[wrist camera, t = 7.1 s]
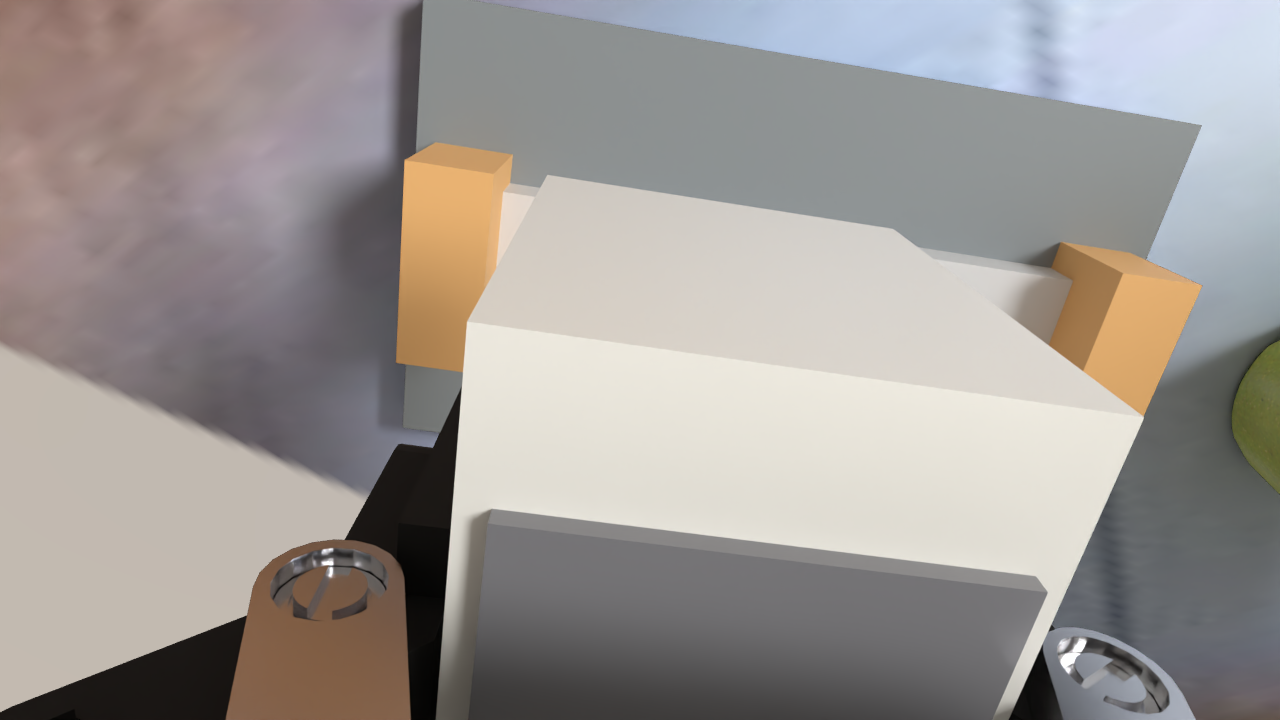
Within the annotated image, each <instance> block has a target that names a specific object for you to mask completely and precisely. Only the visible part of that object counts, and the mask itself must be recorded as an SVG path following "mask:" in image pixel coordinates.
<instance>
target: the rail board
mask: <svg viewBox="0 0 1280 720" xmlns="http://www.w3.org/2000/svg"><path fill="white" fill-rule="evenodd" d="M1201 126H1202V125H1197V124H1191V123H1185V122H1179V121H1174V120H1168V119H1162V118H1156V117H1150V116H1144V115H1139V114H1133V113H1127V112H1121V111H1115V110H1109V109H1104V108H1098V107H1092V106H1086V105H1080V104H1074V103H1069V102H1063V101H1057V100H1051V99H1045V98H1039V97H1034V96H1028V95H1022V94H1016V93H1010V92H1004V91H998V90H993V89H987V88H981V87H975V86H969V85H963V84H958V83H952V82H946V81H940V80H934V79H928V78H923V77H917V76H911V75H905V74H899V73H893V72H888V71H882V70H876V69H870V68H864V67H858V66H853V65H847V64H841V63H835V62H829V61H823V60H818V59H812V58H806V57H800V56H794V55H788V54H783V53H777V52H771V51H765V50H759V49H753V48H748V47H742V46H736V45H730V44H724V43H718V42H712V41H707V40H701V39H695V38H689V37H683V36H677V35H672V34H666V33H660V32H654V31H648V30H642V29H637V28H631V27H625V26H619V25H613V24H607V23H602V22H596V21H590V20H584V19H578V18H572V17H567V16H561V15H555V14H549V13H543V12H537V11H532V10H526V9H520V8H514V7H508V6H502V5H497V4H491V3H485V2H479V1H473V0H423V11H422V32H421V53H420V74H419V95H418V116H417V137H416V154H414V155H413V156H411V157H409V158H407V159H406V160H405V163H404V186H403V210H402V234H401V257H400V281H399V305H398V328H397V352H396V363H400V364H406V369H405V390H404V411H403V428H409V429H416V430H423V431H431V432H438V433H440V432H441V430H442V427H443V425H444V423H445V421H446V419H447V417H448V415H449V412H450V410H451V408H452V406H453V404H454V402H455V399H456V397H457V395H458V393H459V391H460V389H461V387H462V380H463V367H464V354H465V342H466V329H467V321H468V319H469V317H470V315H471V313H472V312H473V310H474V308H475V306H476V304H477V303H478V301H479V299H480V297H481V295H482V293H483V292H484V290H485V288H486V286H487V284H488V282H489V281H490V279H491V277H492V275H493V273H494V271H495V270H496V268H497V266H498V264H499V262H500V261H501V259H502V257H503V255H504V253H505V251H506V250H507V248H508V246H509V244H510V242H511V240H512V239H513V237H514V235H515V233H516V231H517V229H518V228H519V226H520V224H521V222H522V220H523V219H524V217H525V215H526V213H527V211H528V209H529V208H530V206H531V204H532V202H533V200H534V198H535V197H536V195H537V193H538V191H539V189H540V187H541V186H542V184H543V182H544V180H545V178H546V177H547V175H552V176H558V177H564V178H571V179H577V180H584V181H590V182H597V183H603V184H609V185H616V186H622V187H629V188H635V189H641V190H648V191H654V192H661V193H667V194H673V195H680V196H686V197H693V198H699V199H705V200H712V201H718V202H725V203H731V204H737V205H744V206H750V207H757V208H763V209H769V210H776V211H782V212H789V213H795V214H801V215H808V216H814V217H821V218H827V219H833V220H840V221H846V222H853V223H859V224H865V225H872V226H878V227H885V228H891V229H894V230H895V231H897V232H898V233H899V234H901V235H902V236H903V237H905V238H906V239H907V240H909V241H910V242H911V243H913V244H914V245H915V246H917V247H918V248H919V249H921V250H922V251H923V252H925V253H926V254H927V255H929V256H930V257H931V258H933V259H934V260H935V261H937V262H938V263H939V264H941V265H942V266H943V267H945V268H946V269H947V270H949V271H950V272H951V273H953V274H954V275H955V276H957V277H958V278H959V279H961V280H962V281H963V282H965V283H966V284H967V285H969V286H970V287H971V288H973V289H974V290H975V291H977V292H978V293H979V294H981V295H982V296H983V297H985V298H986V299H987V300H989V301H990V302H991V303H993V304H994V305H995V306H997V307H998V308H999V309H1001V310H1002V311H1003V312H1005V313H1006V314H1007V315H1009V316H1010V317H1011V318H1013V319H1014V320H1015V321H1017V322H1018V323H1019V324H1021V325H1022V326H1023V327H1025V328H1026V329H1027V330H1029V331H1030V332H1031V333H1033V334H1034V335H1035V336H1037V337H1038V338H1039V339H1041V340H1042V341H1043V342H1045V343H1046V344H1047V345H1049V346H1050V347H1051V348H1053V349H1054V350H1055V351H1057V352H1058V353H1059V354H1061V355H1062V356H1063V357H1065V358H1066V359H1067V360H1069V361H1070V362H1071V363H1073V364H1074V365H1075V366H1077V367H1078V368H1079V369H1081V370H1082V371H1083V372H1085V373H1086V374H1087V375H1089V376H1090V377H1091V378H1093V379H1094V380H1095V381H1097V382H1098V383H1099V384H1101V385H1102V386H1103V387H1105V388H1106V389H1107V390H1109V391H1110V392H1111V393H1113V394H1114V395H1115V396H1117V397H1118V398H1119V399H1121V400H1122V401H1123V402H1125V403H1126V404H1127V405H1129V406H1130V407H1131V408H1133V409H1134V410H1135V411H1137V412H1138V413H1139V414H1141V415H1142V416H1144V414H1145V412H1146V410H1147V407H1148V405H1149V403H1150V401H1151V398H1152V396H1153V394H1154V392H1155V390H1156V387H1157V385H1158V383H1159V381H1160V379H1161V376H1162V374H1163V372H1164V370H1165V367H1166V365H1167V363H1168V361H1169V359H1170V356H1171V354H1172V352H1173V350H1174V348H1175V345H1176V343H1177V341H1178V339H1179V336H1180V334H1181V332H1182V330H1183V328H1184V325H1185V323H1186V321H1187V319H1188V316H1189V314H1190V312H1191V310H1192V308H1193V305H1194V303H1195V301H1196V299H1197V297H1198V294H1199V292H1200V290H1201V288H1202V285H1200V284H1198V283H1196V282H1193V281H1191V280H1189V279H1187V278H1185V277H1182V276H1180V275H1178V274H1176V273H1174V272H1171V271H1169V270H1167V269H1165V268H1162V267H1160V266H1158V265H1156V264H1154V263H1151V262H1149V261H1147V260H1146V258H1147V256H1148V253H1149V251H1150V248H1151V246H1152V244H1153V241H1154V239H1155V236H1156V234H1157V232H1158V229H1159V227H1160V225H1161V222H1162V220H1163V217H1164V215H1165V213H1166V210H1167V208H1168V205H1169V203H1170V201H1171V198H1172V196H1173V193H1174V191H1175V189H1176V186H1177V184H1178V181H1179V179H1180V177H1181V174H1182V172H1183V169H1184V167H1185V165H1186V162H1187V160H1188V157H1189V155H1190V153H1191V150H1192V148H1193V145H1194V143H1195V141H1196V138H1197V136H1198V133H1199V131H1200V129H1201Z"/></svg>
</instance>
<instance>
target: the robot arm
mask: <svg viewBox="0 0 1280 720" xmlns="http://www.w3.org/2000/svg"><path fill="white" fill-rule="evenodd" d="M461 392H462V387H461V389H460V391H459V393H458V395H457V397H456V399H455V402H454V404H453V406H452V408H451V410H450V412H449V415H448V417H447V419H446V421H445V423H444V425H443V427H442V430H441V432H440V434H439V436H438V438H437V440H436V443H435V445H434V447H433V448H429V447H422V446H414V445H406V444H398V446H397V447H396V448H395V450H394V452H393V453H392V455H391V457H390V459H389V461H388V462H387V464H386V466H385V468H384V470H383V471H382V473H381V475H380V477H379V479H378V481H377V482H376V484H375V486H374V488H373V490H372V491H371V493H370V495H369V497H368V499H367V500H366V502H365V504H364V506H363V508H362V509H361V511H360V513H359V515H358V517H357V518H356V520H355V522H354V524H353V526H352V527H351V529H350V531H349V533H348V535H347V537H346V538H345V540H327V541H320V542H312V543H309V544H306V545H303V546H300V547H297V548H293V549H291V550H289V551H287V552H285V553H284V554H282V555H280V556H278V557H277V558H275V559H273V560H272V561H271V562H270V563H269V564H268V565H267V566H266V567H265V568H264V569H263V570H262V571H261V572H260V573H259V575H258V577H257V579H256V582H255V584H254V586H253V590H252V595H251V600H250V604H249V609H248V614H247V616H244V617H242V618H239V619H237V620H234V621H231V622H229V623H226V624H224V625H221V626H219V627H216V628H213V629H211V630H208V631H206V632H203V633H201V634H198V635H196V636H193V637H190V638H188V639H185V640H183V641H180V642H177V643H175V644H172V645H170V646H167V647H165V648H162V649H159V650H157V651H154V652H152V653H149V654H146V655H144V656H141V657H139V658H136V659H133V660H131V661H128V662H126V663H123V664H121V665H118V666H115V667H113V668H111V669H108V670H105V671H103V672H100V673H97V674H95V675H92V676H90V677H87V678H85V679H82V680H79V681H77V682H74V683H72V684H69V685H66V686H64V687H61V688H59V689H56V690H53V691H51V692H48V693H46V694H43V695H41V696H38V697H35V698H33V699H30V700H28V701H25V702H23V703H20V704H17V705H15V706H12V707H10V708H8V709H6V710H4V711H2V712H0V720H436V710H437V697H438V684H439V672H440V659H441V646H442V634H443V621H444V608H445V596H446V583H447V570H448V557H449V545H450V532H451V519H452V507H453V494H454V481H455V469H456V456H457V443H458V430H459V418H460V405H461ZM1009 720H1196V719H1195V717H1194V715H1193V713H1192V711H1191V709H1190V707H1189V705H1188V703H1187V701H1186V699H1185V698H1184V696H1183V694H1182V692H1181V691H1180V689H1179V688H1178V686H1177V685H1176V684H1175V682H1174V681H1173V679H1172V678H1171V677H1170V676H1169V675H1168V674H1167V673H1166V672H1165V671H1164V670H1163V669H1162V668H1161V667H1159V666H1158V665H1157V664H1156V663H1155V662H1154V661H1152V660H1151V659H1149V658H1148V657H1147V656H1145V655H1144V654H1142V653H1141V652H1139V651H1138V650H1137V649H1135V648H1133V647H1131V646H1129V645H1127V644H1125V643H1123V642H1121V641H1119V640H1118V639H1116V638H1113V637H1110V636H1108V635H1105V634H1102V633H1099V632H1097V631H1093V630H1088V629H1083V628H1078V627H1060V628H1057V629H1054V627H1053V626H1052V624H1051V626H1050V629H1049V631H1048V633H1047V635H1046V637H1045V640H1044V642H1043V644H1042V646H1041V649H1040V651H1039V653H1038V655H1037V657H1036V660H1035V662H1034V664H1033V666H1032V669H1031V671H1030V673H1029V675H1028V677H1027V680H1026V682H1025V684H1024V686H1023V689H1022V691H1021V693H1020V695H1019V698H1018V700H1017V702H1016V704H1015V706H1014V709H1013V711H1012V713H1011V715H1010V718H1009Z"/></svg>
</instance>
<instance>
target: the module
mask: <svg viewBox="0 0 1280 720" xmlns="http://www.w3.org/2000/svg"><path fill="white" fill-rule="evenodd" d="M1143 419H1144V417H1143V416H1142V415H1141V414H1139V413H1138V412H1137V411H1135V410H1134V409H1133V408H1131V407H1130V406H1129V405H1127V404H1126V403H1125V402H1123V401H1122V400H1121V399H1119V398H1118V397H1117V396H1115V395H1114V394H1113V393H1111V392H1110V391H1109V390H1107V389H1106V388H1105V387H1103V386H1102V385H1101V384H1099V383H1098V382H1097V381H1095V380H1094V379H1093V378H1091V377H1090V376H1089V375H1087V374H1086V373H1085V372H1083V371H1082V370H1081V369H1079V368H1078V367H1077V366H1075V365H1074V364H1073V363H1071V362H1070V361H1069V360H1067V359H1066V358H1065V357H1063V356H1062V355H1061V354H1059V353H1058V352H1057V351H1055V350H1054V349H1053V348H1051V347H1050V346H1049V345H1047V344H1046V343H1045V342H1043V341H1042V340H1041V339H1039V338H1038V337H1037V336H1035V335H1034V334H1033V333H1031V332H1030V331H1029V330H1027V329H1026V328H1025V327H1023V326H1022V325H1021V324H1019V323H1018V322H1017V321H1015V320H1014V319H1013V318H1011V317H1010V316H1009V315H1007V314H1006V313H1005V312H1003V311H1002V310H1001V309H999V308H998V307H997V306H995V305H994V304H993V303H991V302H990V301H989V300H987V299H986V298H985V297H983V296H982V295H981V294H979V293H978V292H977V291H975V290H974V289H973V288H971V287H970V286H969V285H967V284H966V283H965V282H963V281H962V280H961V279H959V278H958V277H957V276H955V275H954V274H953V273H951V272H950V271H949V270H947V269H946V268H945V267H943V266H942V265H941V264H939V263H938V262H937V261H935V260H934V259H933V258H931V257H930V256H929V255H927V254H926V253H925V252H923V251H922V250H921V249H919V248H918V247H917V246H915V245H914V244H913V243H911V242H910V241H909V240H907V239H906V238H905V237H903V236H902V235H901V234H899V233H898V232H897V231H895V230H894V229H891V228H885V227H878V226H872V225H865V224H859V223H853V222H846V221H840V220H833V219H827V218H821V217H814V216H808V215H801V214H795V213H789V212H782V211H776V210H769V209H763V208H757V207H750V206H744V205H737V204H731V203H725V202H718V201H712V200H705V199H699V198H693V197H686V196H680V195H673V194H667V193H661V192H654V191H648V190H641V189H635V188H629V187H622V186H616V185H609V184H603V183H597V182H590V181H584V180H577V179H571V178H564V177H558V176H552V175H547V177H546V178H545V180H544V182H543V184H542V186H541V187H540V189H539V191H538V193H537V195H536V197H535V198H534V200H533V202H532V204H531V206H530V208H529V209H528V211H527V213H526V215H525V217H524V219H523V220H522V222H521V224H520V226H519V228H518V229H517V231H516V233H515V235H514V237H513V239H512V240H511V242H510V244H509V246H508V248H507V250H506V251H505V253H504V255H503V257H502V259H501V261H500V262H499V264H498V266H497V268H496V270H495V271H494V273H493V275H492V277H491V279H490V281H489V282H488V284H487V286H486V288H485V290H484V292H483V293H482V295H481V297H480V299H479V301H478V303H477V304H476V306H475V308H474V310H473V312H472V313H471V315H470V317H469V319H468V321H467V329H466V342H465V354H464V367H463V380H462V392H461V405H460V418H459V430H458V443H457V456H456V469H455V481H454V494H453V507H452V519H451V532H450V545H449V557H448V570H447V583H446V596H445V608H444V621H443V634H442V646H441V659H440V672H439V684H438V697H437V710H436V720H1009V718H1010V715H1011V713H1012V711H1013V709H1014V706H1015V704H1016V702H1017V700H1018V698H1019V695H1020V693H1021V691H1022V689H1023V686H1024V684H1025V682H1026V680H1027V677H1028V675H1029V673H1030V671H1031V669H1032V666H1033V664H1034V662H1035V660H1036V657H1037V655H1038V653H1039V651H1040V649H1041V646H1042V644H1043V642H1044V640H1045V637H1046V635H1047V633H1048V631H1049V629H1050V626H1051V624H1052V622H1053V620H1054V617H1055V615H1056V613H1057V611H1058V609H1059V606H1060V604H1061V602H1062V600H1063V597H1064V595H1065V593H1066V591H1067V589H1068V586H1069V584H1070V582H1071V580H1072V577H1073V575H1074V573H1075V571H1076V568H1077V566H1078V564H1079V562H1080V560H1081V557H1082V555H1083V553H1084V551H1085V548H1086V546H1087V544H1088V542H1089V540H1090V537H1091V535H1092V533H1093V531H1094V528H1095V526H1096V524H1097V522H1098V520H1099V517H1100V515H1101V513H1102V511H1103V508H1104V506H1105V504H1106V502H1107V500H1108V497H1109V495H1110V493H1111V491H1112V488H1113V486H1114V484H1115V482H1116V479H1117V477H1118V475H1119V473H1120V471H1121V468H1122V466H1123V464H1124V462H1125V459H1126V457H1127V455H1128V453H1129V451H1130V448H1131V446H1132V444H1133V442H1134V439H1135V437H1136V435H1137V433H1138V431H1139V428H1140V426H1141V424H1142V422H1143Z"/></svg>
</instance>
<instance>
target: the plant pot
mask: <svg viewBox="0 0 1280 720" xmlns="http://www.w3.org/2000/svg"><path fill="white" fill-rule="evenodd" d="M1232 431H1233V435H1234V438H1235V440H1236V442H1237V444H1238V446H1239V448H1240V449H1241V451H1242V453H1243V455H1244V457H1245V458H1246V459H1247V461H1248V462H1249V464H1250V465H1251V466H1252V467H1253V468H1254V469H1255V470H1256V471H1257V472H1258V473H1259V474H1260V475H1261V476H1262V477H1263V478H1264V479H1265V480H1266V481H1267V482H1268V483H1269V484H1270V485H1271V486H1272V487H1273V488H1274V489H1275V490H1276V491H1277V492H1278V493H1279V494H1280V341H1278V342H1275V343H1273V344H1271V345H1269V346H1268V347H1267V348H1266V349H1265V350H1264V351H1263V352H1262V353H1261V354H1260V355H1259V356H1258V357H1257V359H1256V360H1255V361H1254V363H1253V364H1252V365H1251V367H1250V368H1249V370H1248V371H1247V373H1246V375H1245V376H1244V378H1243V380H1242V381H1241V383H1240V386H1239V389H1238V391H1237V394H1236V397H1235V400H1234V405H1233V410H1232Z"/></svg>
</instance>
